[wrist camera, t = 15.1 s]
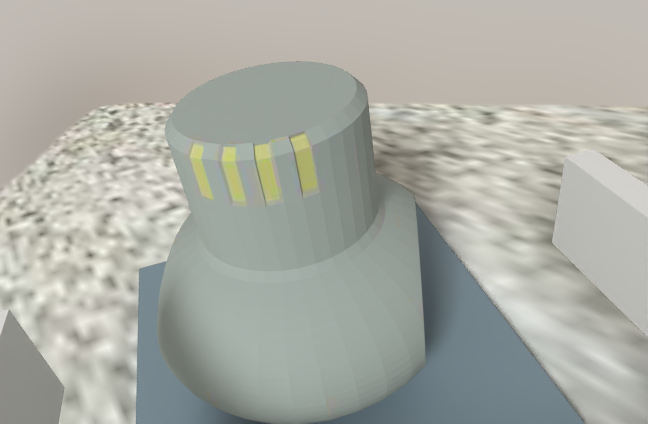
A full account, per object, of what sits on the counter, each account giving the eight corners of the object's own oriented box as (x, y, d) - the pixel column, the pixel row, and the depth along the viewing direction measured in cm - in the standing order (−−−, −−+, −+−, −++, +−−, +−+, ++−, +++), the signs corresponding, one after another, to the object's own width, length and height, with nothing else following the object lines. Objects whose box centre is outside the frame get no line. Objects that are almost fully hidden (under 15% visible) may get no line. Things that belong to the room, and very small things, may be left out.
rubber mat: (408, 201, 28) (408, 193, 27) (584, 435, 17) (587, 427, 16) (142, 276, 26) (139, 268, 25) (138, 599, 15) (132, 593, 14)
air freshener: (431, 469, 16) (423, 201, 10) (172, 464, 17) (30, 223, 11) (414, 237, 24) (404, 21, 19) (243, 245, 26) (184, 45, 20)
